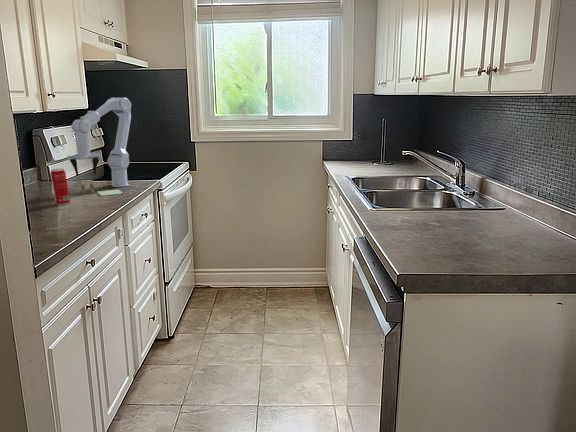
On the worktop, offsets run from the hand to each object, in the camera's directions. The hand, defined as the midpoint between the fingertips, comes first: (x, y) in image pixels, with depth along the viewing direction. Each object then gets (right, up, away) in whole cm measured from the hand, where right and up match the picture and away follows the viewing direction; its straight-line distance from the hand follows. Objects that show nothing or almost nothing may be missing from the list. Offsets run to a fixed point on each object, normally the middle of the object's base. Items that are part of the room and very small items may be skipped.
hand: (85, 174), depth 235 cm
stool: (0, -8, +2) cm, 9 cm away
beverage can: (-2, -15, -21) cm, 25 cm away
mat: (+11, -9, +1) cm, 14 cm away
